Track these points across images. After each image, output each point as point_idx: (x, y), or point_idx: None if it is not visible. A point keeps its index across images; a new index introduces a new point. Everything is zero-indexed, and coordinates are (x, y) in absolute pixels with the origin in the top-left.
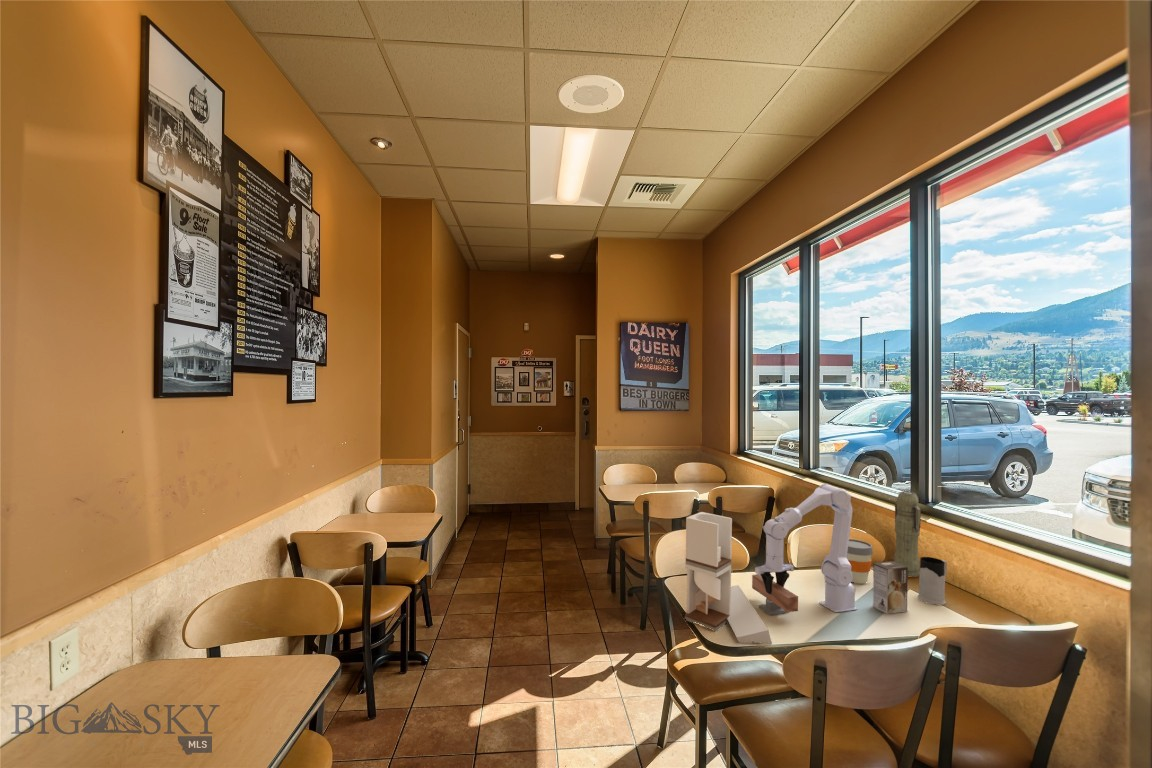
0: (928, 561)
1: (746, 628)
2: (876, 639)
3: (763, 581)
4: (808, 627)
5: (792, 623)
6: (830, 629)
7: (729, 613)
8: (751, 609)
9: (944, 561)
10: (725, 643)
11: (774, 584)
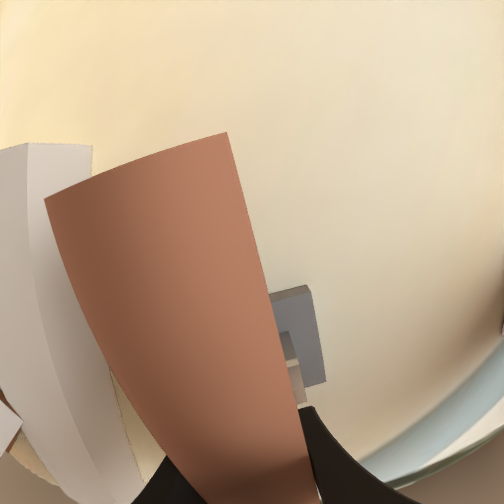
0: None
1: (82, 497)
2: (457, 454)
3: (139, 494)
4: None
5: None
6: (393, 452)
7: (19, 427)
8: (87, 464)
9: None
10: (47, 478)
11: (265, 480)
